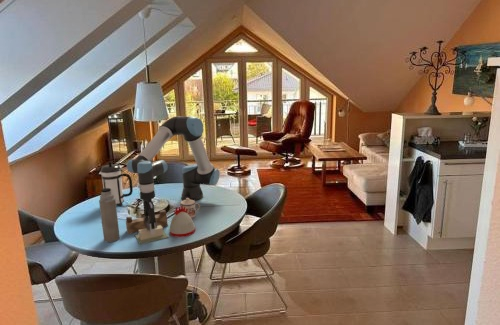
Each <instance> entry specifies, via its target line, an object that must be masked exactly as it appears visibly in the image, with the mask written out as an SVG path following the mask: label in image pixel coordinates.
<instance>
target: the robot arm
mask: <svg viewBox="0 0 500 325" xmlns="http://www.w3.org/2000/svg"><path fill="white" fill-rule="evenodd" d="M203 133H204V123H203V121H202V119H201V118H199V117H197V116H178V115H177V116H173V117H171V118H168V119H167V120H165V121H164V122H163V123H162V124H161V125H160V126H159V128H158V130H157V132H156V134H155V135H154V136H153V137H152V138H151V140H150V141H149V142H148V143H147V144H146V146H145V147H144V148H143V149H142V150H141V152H140V153H139V154H138V155H137V157H136V158H132V159H129V160H128V161H127V163H126V170H127V171H128V173H131V174H137V177H138V186H137V188H139V196H140V200H142V201H143V215H144V217H148V215H149V220H150V222H149V224H150V234H151V235H152V234H156V229H155V223H156V219H155V215H156V214H155V213H156V212H155V204H154V202H153V201H152V200H153V199H155V197H156V190H155V182H154V178H155V177H158V176H160V175H163V174H165V173H166V172H167V171H168V168H169V167H168V163H167V161H165V160H164V159H159V160H154V158H155V157H156V155H157V154H158V153H159V152H160V151H161V149H162V148H163V147H164V146H165V145H166V143H167V142H168V140H172V138H173V137H174V136H183V139H184V141H185V142H187V143H188V145H189V148H190V150H191V153H192V155H193V158H194V160H195V163H194V164H189V165H185V166H183V167H182V169H181V171H182V172H181V174H182V184H183V186H182V187H183V188H182V191H181V199H182V201H184V200H186V198H189V199H191V200H194V201H198V200H202V198H204V193H203V190H202V188H201V185H204V186H216V185H217V184H218V183H219V179H220V170H219V169H218V168H217V167H216V168H215V166H214V164H213V163H211V161H210V159H209V156H208V154H207V150H206V148H205V147H206V146H205V145H204V142H203V139H202V135H203Z"/></svg>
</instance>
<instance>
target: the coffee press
mask: <svg viewBox="0 0 500 325" xmlns="http://www.w3.org/2000/svg"><path fill="white" fill-rule="evenodd" d="M121 171H122V167H121V166H120V165H118V164H116V163H115V164H113V162H112V161H108V164H105V165H103V166H102V167H101V169H100V171H99V173H98V175H101V182H102V187H103V188H102V189H105V188H110V189H111V193H112V194H113V195H114V198H115V201H116V205H119V206H120V207H123V206H124V205H123V202H125V198H127V197H130V196H131V195H132V194H133V190H134V189H133V180H132V176H131V175H130V174H128V173H122V172H121ZM122 177H126V178H127V179H128V184H129V193H124V190H123V180H122ZM124 197H125V198H124Z"/></svg>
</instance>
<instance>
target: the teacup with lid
mask: <svg viewBox="0 0 500 325" xmlns="http://www.w3.org/2000/svg"><path fill="white" fill-rule="evenodd" d="M196 205H197V206H198V207H197V209H196ZM181 206H183V208H184V207H185V211H186V209H188V210H187V214H189V216H190V217H191V218H192V219H193V218H196V214H197V213H196V212H197V211H199V210H200V207H201V205H200V203H198V202H196V200H191V199H189V198H186V200H181V201H180V207H181Z"/></svg>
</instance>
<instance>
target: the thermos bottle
mask: <svg viewBox="0 0 500 325" xmlns="http://www.w3.org/2000/svg"><path fill="white" fill-rule="evenodd" d="M100 192H101V194H100V195H99V200H98V203H99V210H100V219H101V226H102V234H103V235H102V236H103V241H104V242H106V243H112V242H116V241H119V239H120V238H121V236H120V228H119V219H118V211H117V204H116V201H115V198H114V195H113V194H112V193H111V189H110V188H105V189H103V188H102V189H100Z"/></svg>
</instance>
